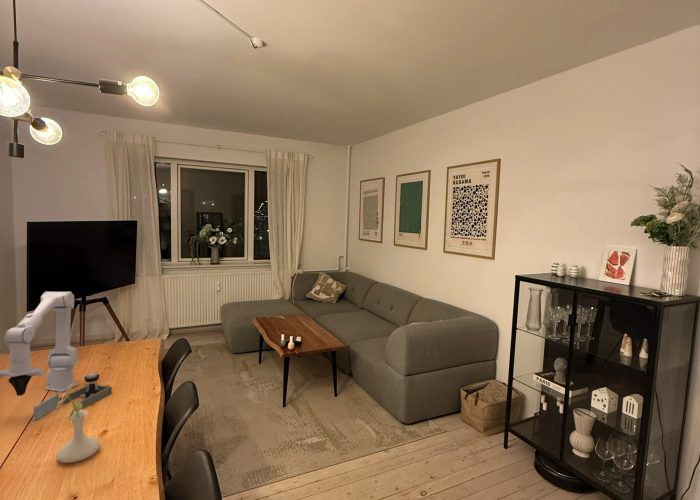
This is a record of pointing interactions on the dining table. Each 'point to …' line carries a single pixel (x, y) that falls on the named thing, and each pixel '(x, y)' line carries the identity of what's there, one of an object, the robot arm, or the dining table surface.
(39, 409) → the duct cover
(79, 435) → the flower in vase
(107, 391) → the duct bay
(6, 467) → the dining table surface
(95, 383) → the push button
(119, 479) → the dining table surface
